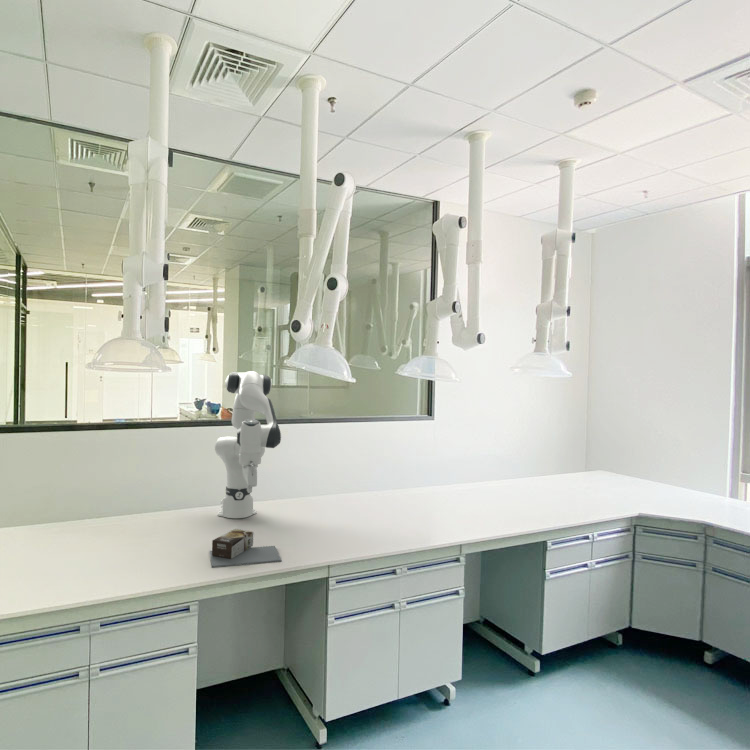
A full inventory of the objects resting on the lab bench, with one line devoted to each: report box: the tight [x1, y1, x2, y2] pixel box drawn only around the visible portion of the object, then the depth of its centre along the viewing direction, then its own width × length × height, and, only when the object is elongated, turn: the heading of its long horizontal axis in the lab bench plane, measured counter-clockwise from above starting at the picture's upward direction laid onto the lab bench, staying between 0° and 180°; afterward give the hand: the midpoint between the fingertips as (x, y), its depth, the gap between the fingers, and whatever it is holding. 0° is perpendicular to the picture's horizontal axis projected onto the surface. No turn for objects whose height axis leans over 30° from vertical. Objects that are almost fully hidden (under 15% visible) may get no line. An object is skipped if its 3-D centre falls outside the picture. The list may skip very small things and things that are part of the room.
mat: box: [209, 545, 282, 568], centre depth 204 cm, size 16×26×1 cm, turn 110°
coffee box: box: [211, 528, 255, 559], centre depth 208 cm, size 9×6×16 cm
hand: (249, 491), depth 215 cm, fingers closed
